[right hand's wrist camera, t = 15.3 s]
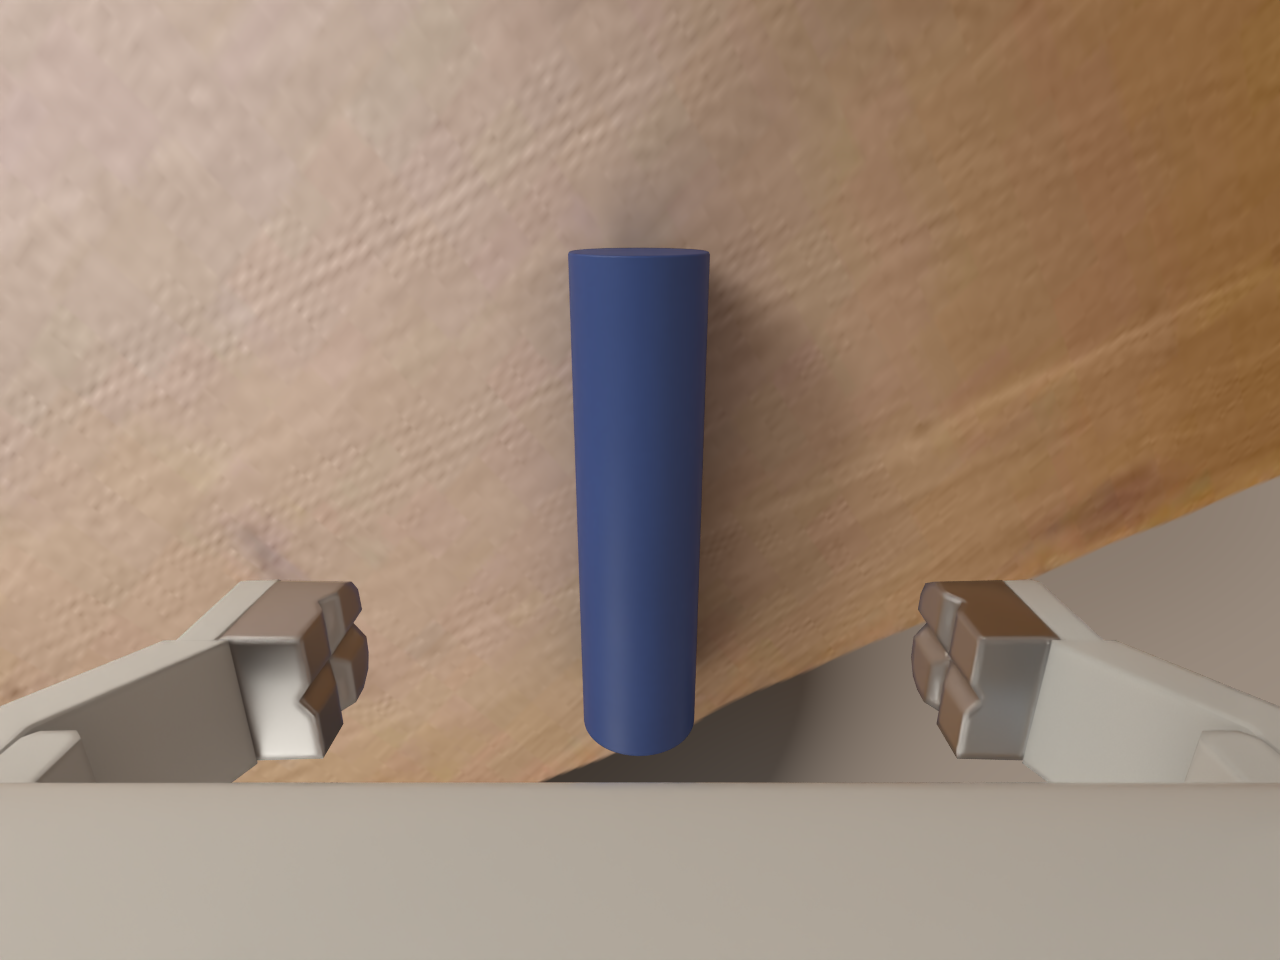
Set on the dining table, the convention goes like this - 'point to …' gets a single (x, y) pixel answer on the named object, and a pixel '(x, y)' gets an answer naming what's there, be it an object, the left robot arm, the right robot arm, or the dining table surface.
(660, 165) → the dining table surface
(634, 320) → the cylinder
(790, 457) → the dining table surface
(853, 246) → the dining table surface
